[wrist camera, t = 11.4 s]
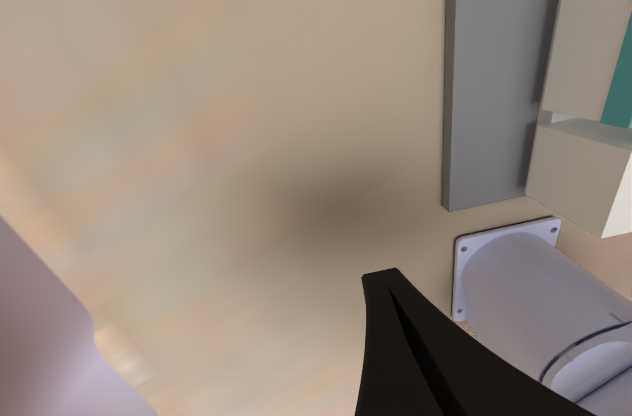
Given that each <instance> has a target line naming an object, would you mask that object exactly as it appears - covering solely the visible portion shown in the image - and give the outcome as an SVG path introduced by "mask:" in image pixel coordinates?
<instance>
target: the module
mask: <svg viewBox="0 0 632 416" xmlns="http://www.w3.org/2000/svg"><path fill="white" fill-rule="evenodd" d="M541 109H542V110H547V111H552V112H557V113H561V114H566V115H571V116H576V117H581V118H586V119H591V120H595V121H600V123H602V124H607V125H611V126H616V127H621V128H626V129H630V128H632V0H561V5H560V11H559V16H558V22H557V27H556V32H555V38H554V43H553V49H552V54H551V60H550V65H549V70H548V76H547V81H546V87H545V92H544V98H543V103H542V108H541Z"/></svg>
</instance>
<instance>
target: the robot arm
mask: <svg viewBox="0 0 632 416" xmlns="http://www.w3.org/2000/svg"><path fill="white" fill-rule="evenodd" d="M560 226H561V220H560V219H559V218H557V217H550V218H545V219H540V220H536V221H531V222H527V223H522V224H517V225H513V226H508V227H503V228H499V229H494V230H490V231H485V232H480V233H476V234H471V235H466V236H462V237H460V238H458V239H457V240H456V245H455V266H454V286H453V306H452V318H453V320H454V321H456V322H460V321H465V320H466V322H467V323H468V325H469V326H470V328H471V329H472V331H473V332H474V334H475V335H476V337H477V338H478V340H479V341H480V343H479V342H478V341H477V340H475V339H474V338H473V337H471V336H470V335H469V334H468V333H466V332H465V331H464V330H462V329H461V328H460V327H459V326H458V325H456V324H455V323H454V322H453V321H451V320H450V319H449V318H448V317H447V316H446V315H444V314H443V313H442V312H441V311H440V310H439V309H438V308H436V307H435V306H434V305H433V304H432V303H431V302H430V301H429V300H428V299H427V298H426V297H424V296H423V295H422V294H421V293H420V292H419V291H418V290H417V289H416V288H415V287H414V286H413V285H412V284H411V283H410V282H409V281H408V279H407V278H406V277H405V276H404V275H403V274H402V273H401V272H400V271H399V270H398V269H397V268H391V269H387V270H382V271H377V272H373V273H368V274H364V275H363V276H362V277H361V278H362V284H363V290H364V296H365V303H366V338H365V352H364V361H363V369H362V376H361V383H360V389H359V395H358V401H357V406H356V411H355V416H632V302H630V301H629V300H627V299H626V298H625V297H623V296H622V295H620V294H619V293H618V292H616V291H615V290H613V289H612V288H611V287H609V286H608V285H606V284H605V283H604V282H602V281H601V280H599V279H598V278H597V277H595V276H594V275H592V274H591V273H590V272H588V271H587V270H585V269H584V268H583V267H581V266H580V265H578V264H577V263H576V262H574V261H573V260H571V259H570V258H569V257H567V256H566V255H564V254H563V253H562V252H560V251H559V250H557V249H556V248H555V245H556V241H557V237H558V233H559V229H560ZM462 247H464V248H462ZM461 248H462V249H461Z"/></svg>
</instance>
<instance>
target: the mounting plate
mask: <svg viewBox="0 0 632 416" xmlns="http://www.w3.org/2000/svg"><path fill="white" fill-rule="evenodd" d="M560 5H561V0H446V29H445V82H444V134H443V186H442V206H443V207H444V208H445V209H446V210H447V211H448V212H452V211H456V210H461V209H466V208H470V207H475V206H479V205H484V204H489V203H493V202H498V201H502V200H507V199H512V198H516V197H521V196H525V195H527V196H528V197H530V198H532V199H534V200H535V201H537V202H539V203H541V204H542V205H544V206H546V207H547V208H549V209H551V210H553V211H554V212H556V213H558V214H559V215H561V216H563V217H565V218H566V219H568V220H570V221H572V222H573V223H575V224H577V225H578V226H580V227H582V228H584V229H585V230H587V231H589V232H591V233H592V234H594V235H596V236H597V237H599V238H606V237H610V236H615V235H620V234H624V233H629V232H632V128H630V129H626V128H621V127H616V126H611V125H607V124H602V123H600V121H595V120H591V119H586V118H581V117H576V116H571V115H566V114H561V113H557V112H552V111H547V110H542V109H541V108H542V103H543V98H544V92H545V87H546V81H547V76H548V70H549V65H550V60H551V54H552V49H553V43H554V38H555V32H556V27H557V22H558V16H559V11H560Z"/></svg>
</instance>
